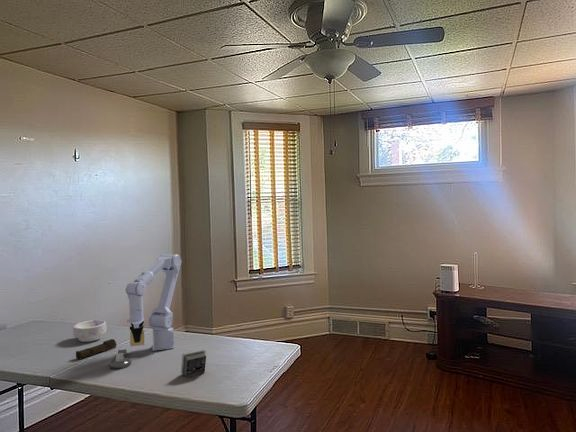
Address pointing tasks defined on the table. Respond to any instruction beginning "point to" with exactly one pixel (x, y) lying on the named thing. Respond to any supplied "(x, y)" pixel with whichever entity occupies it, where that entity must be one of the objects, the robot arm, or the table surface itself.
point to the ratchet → (120, 361)
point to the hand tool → (96, 349)
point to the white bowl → (89, 330)
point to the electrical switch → (193, 363)
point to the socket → (138, 342)
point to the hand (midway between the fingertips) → (137, 340)
